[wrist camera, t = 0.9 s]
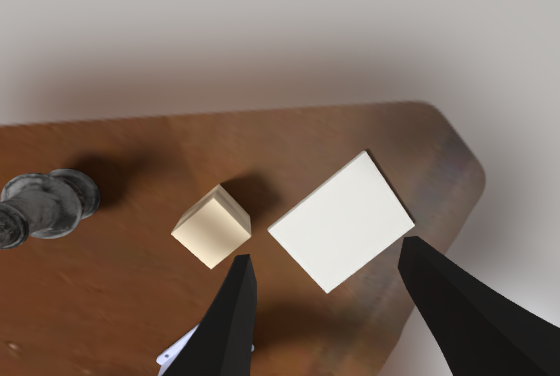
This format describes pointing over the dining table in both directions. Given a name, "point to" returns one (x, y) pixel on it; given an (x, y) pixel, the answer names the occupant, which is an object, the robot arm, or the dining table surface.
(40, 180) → the grey stone chess piece
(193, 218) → the birch block
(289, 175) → the dining table surface
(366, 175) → the white mat
